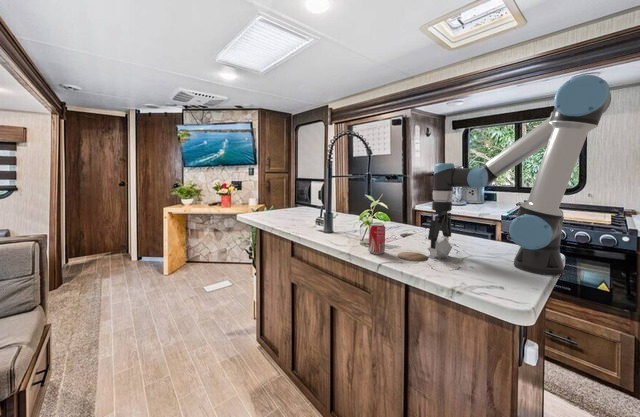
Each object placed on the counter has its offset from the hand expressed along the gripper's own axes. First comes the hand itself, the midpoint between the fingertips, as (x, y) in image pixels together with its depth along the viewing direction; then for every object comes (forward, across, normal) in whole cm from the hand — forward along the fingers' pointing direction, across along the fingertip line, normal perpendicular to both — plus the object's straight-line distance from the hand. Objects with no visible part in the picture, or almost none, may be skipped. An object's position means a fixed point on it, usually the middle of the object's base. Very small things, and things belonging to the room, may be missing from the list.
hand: (439, 253), depth 125 cm
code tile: (+2, 0, 0) cm, 2 cm away
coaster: (+2, +8, -8) cm, 11 cm away
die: (+2, 0, 0) cm, 2 cm away
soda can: (+2, +14, -22) cm, 26 cm away
